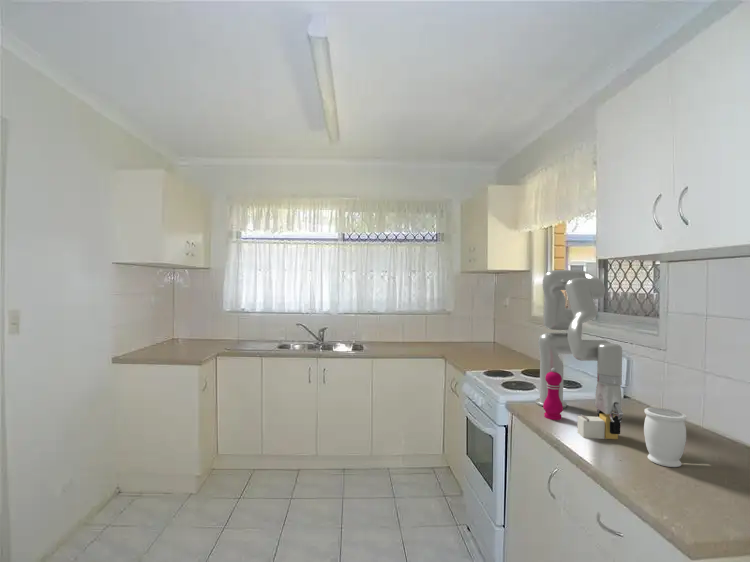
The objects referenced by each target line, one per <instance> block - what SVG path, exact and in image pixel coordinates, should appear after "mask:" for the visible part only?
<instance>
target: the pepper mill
mask: <svg viewBox="0 0 750 562" xmlns="http://www.w3.org/2000/svg"><path fill="white" fill-rule="evenodd" d="M551 371H552V372H549V373H547V374H546V377H545V380H546V381H547V388H548V395H547V398H546V399H545V401H544V404H543V406H542V408H543V410H544V411H545V412H544V413H543V416H544V418H545V419H548V420H552V421H560V420H562V414H561V413H562V412H563V411H564V408H563V405H562V402H561V400H560V398H559V389H560V385H559V384H560V383H561V381H562V377H561V375H560V374H559V373H557V372H556V369H555V368H552V369H551Z"/></svg>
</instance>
